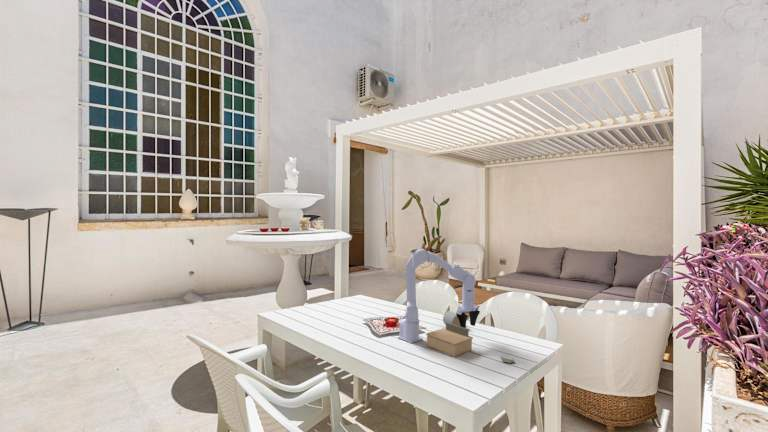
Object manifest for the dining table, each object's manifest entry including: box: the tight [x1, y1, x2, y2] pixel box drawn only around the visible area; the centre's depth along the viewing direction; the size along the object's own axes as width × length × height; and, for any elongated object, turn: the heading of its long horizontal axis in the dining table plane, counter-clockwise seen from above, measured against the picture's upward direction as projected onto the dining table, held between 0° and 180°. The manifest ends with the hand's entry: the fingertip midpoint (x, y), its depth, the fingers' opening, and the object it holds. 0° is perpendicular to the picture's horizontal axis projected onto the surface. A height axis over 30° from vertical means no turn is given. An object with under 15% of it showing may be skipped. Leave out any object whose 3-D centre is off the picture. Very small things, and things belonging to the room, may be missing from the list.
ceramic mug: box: [442, 310, 461, 327], centre depth 195 cm, size 11×8×8 cm
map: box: [500, 356, 515, 364], centre depth 156 cm, size 5×20×1 cm, turn 169°
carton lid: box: [425, 323, 474, 345], centre depth 162 cm, size 17×13×4 cm
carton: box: [426, 335, 473, 358], centre depth 162 cm, size 16×12×5 cm
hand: (467, 326), depth 171 cm, fingers open, 7 cm apart
